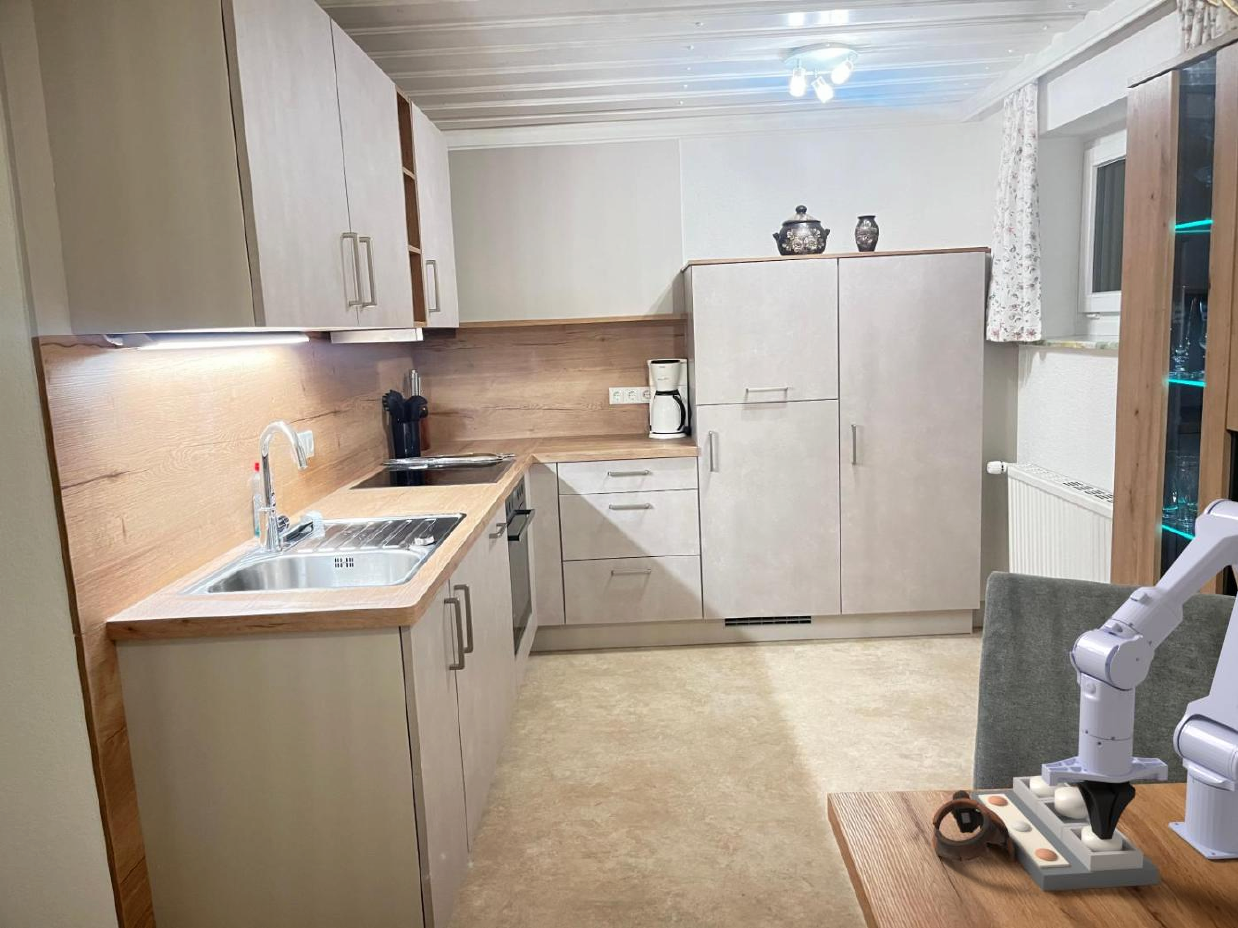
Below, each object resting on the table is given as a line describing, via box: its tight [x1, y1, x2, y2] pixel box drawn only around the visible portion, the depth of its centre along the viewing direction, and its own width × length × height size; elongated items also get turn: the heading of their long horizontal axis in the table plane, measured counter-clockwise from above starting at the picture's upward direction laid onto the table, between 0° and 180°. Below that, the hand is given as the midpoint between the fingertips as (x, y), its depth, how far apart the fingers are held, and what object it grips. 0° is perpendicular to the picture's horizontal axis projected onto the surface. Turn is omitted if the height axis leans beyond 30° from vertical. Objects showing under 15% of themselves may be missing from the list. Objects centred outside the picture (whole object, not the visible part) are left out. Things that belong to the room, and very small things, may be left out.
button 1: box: [1030, 775, 1065, 798], centre depth 123 cm, size 4×4×2 cm
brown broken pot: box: [932, 789, 1016, 863], centre depth 115 cm, size 12×10×8 cm
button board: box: [970, 775, 1160, 892], centre depth 116 cm, size 14×20×4 cm
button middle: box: [1054, 786, 1089, 819], centre depth 116 cm, size 4×4×2 cm
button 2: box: [1081, 826, 1122, 852], centre depth 110 cm, size 4×4×2 cm
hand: (1101, 835), depth 110 cm, fingers closed, pressing on button 2
